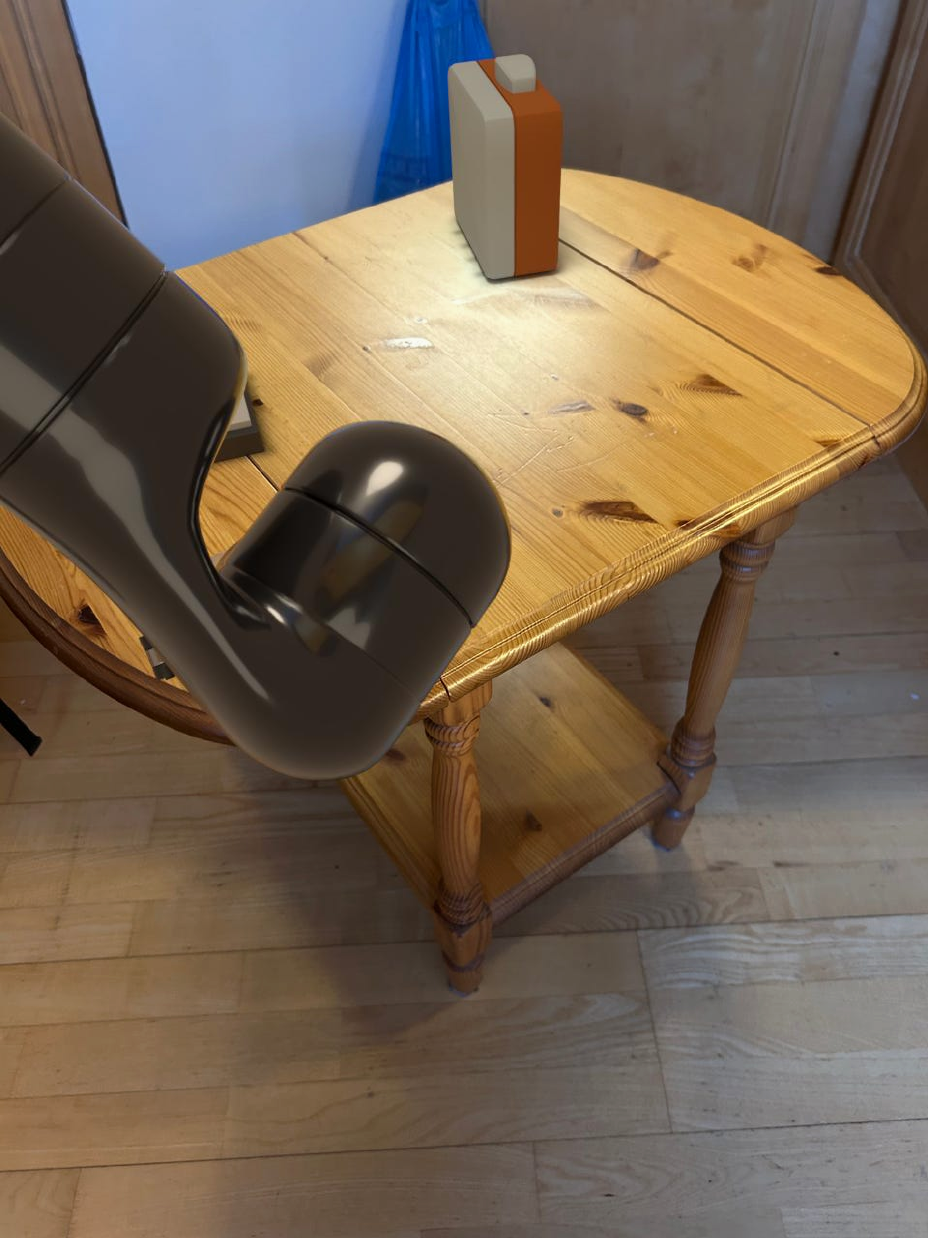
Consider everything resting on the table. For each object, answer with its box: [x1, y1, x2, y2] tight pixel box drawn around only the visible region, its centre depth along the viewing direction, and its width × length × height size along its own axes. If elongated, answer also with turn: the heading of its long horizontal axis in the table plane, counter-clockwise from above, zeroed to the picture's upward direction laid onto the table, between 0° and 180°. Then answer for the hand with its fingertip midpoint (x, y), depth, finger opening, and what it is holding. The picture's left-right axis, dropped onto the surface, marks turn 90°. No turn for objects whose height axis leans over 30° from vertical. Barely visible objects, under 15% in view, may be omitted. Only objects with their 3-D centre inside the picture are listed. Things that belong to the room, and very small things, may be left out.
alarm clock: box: [447, 53, 564, 280], centre depth 105 cm, size 18×9×21 cm, turn 13°
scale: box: [213, 385, 265, 464], centre depth 89 cm, size 13×13×3 cm
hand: (259, 611), depth 58 cm, fingers open, 8 cm apart
